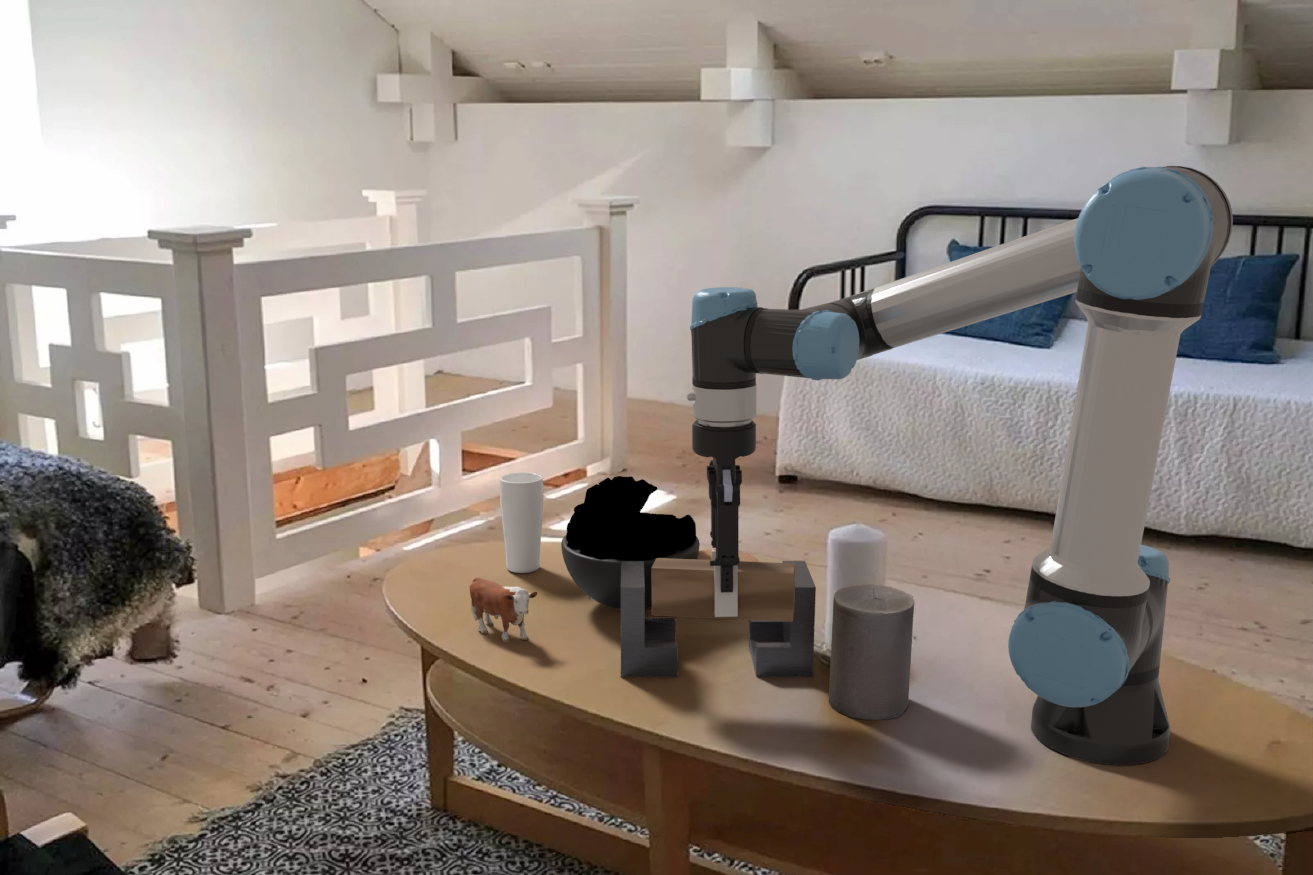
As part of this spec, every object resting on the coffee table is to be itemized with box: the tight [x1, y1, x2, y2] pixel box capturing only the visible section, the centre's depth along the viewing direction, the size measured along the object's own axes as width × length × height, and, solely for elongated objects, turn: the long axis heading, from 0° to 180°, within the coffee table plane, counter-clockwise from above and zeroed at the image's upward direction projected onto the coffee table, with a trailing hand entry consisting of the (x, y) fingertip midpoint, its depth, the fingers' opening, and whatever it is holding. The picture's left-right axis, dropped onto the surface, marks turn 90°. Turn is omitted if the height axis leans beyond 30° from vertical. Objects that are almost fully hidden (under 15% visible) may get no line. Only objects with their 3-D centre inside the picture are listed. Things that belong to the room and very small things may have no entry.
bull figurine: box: [469, 577, 538, 643], centre depth 181 cm, size 4×13×8 cm, turn 41°
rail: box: [651, 558, 795, 622], centre depth 160 cm, size 4×17×6 cm, turn 81°
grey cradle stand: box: [620, 560, 817, 678], centre depth 172 cm, size 10×24×12 cm, turn 91°
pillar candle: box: [828, 583, 915, 721], centre depth 159 cm, size 10×10×15 cm
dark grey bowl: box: [560, 475, 701, 611], centre depth 191 cm, size 20×20×19 cm
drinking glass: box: [499, 471, 544, 574], centre depth 208 cm, size 7×7×15 cm
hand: (724, 607), depth 160 cm, fingers closed on rail, 5 cm apart
